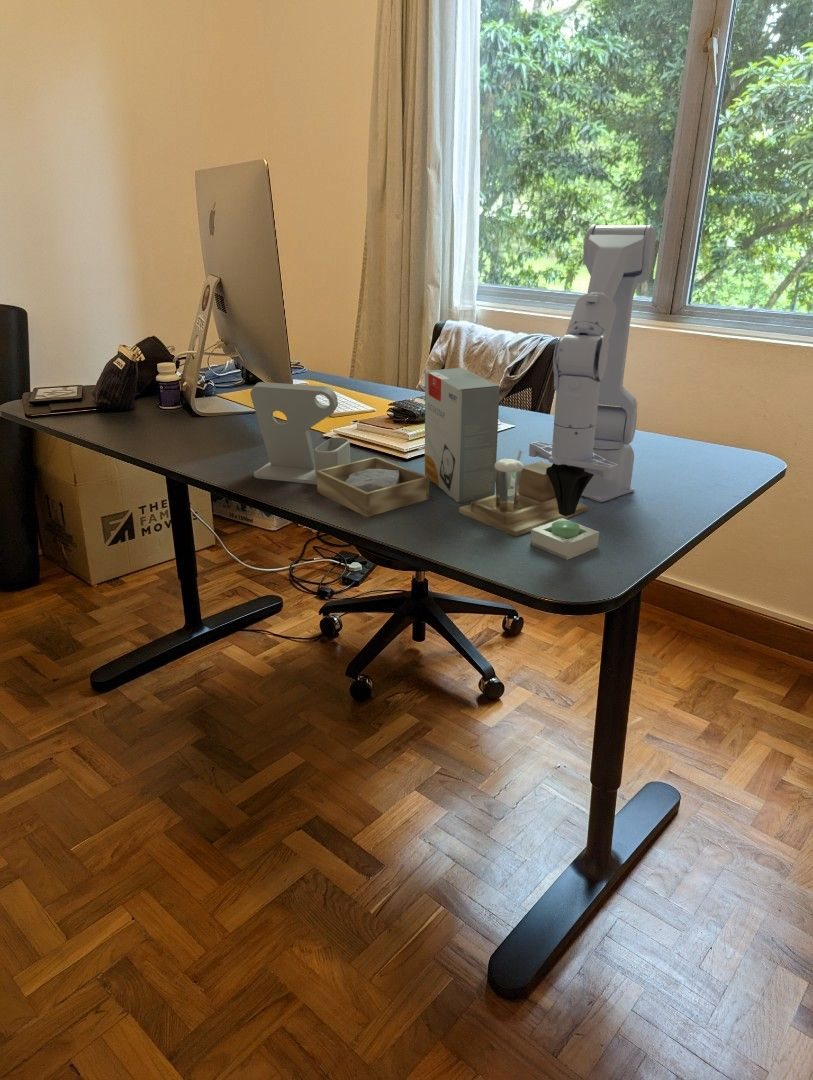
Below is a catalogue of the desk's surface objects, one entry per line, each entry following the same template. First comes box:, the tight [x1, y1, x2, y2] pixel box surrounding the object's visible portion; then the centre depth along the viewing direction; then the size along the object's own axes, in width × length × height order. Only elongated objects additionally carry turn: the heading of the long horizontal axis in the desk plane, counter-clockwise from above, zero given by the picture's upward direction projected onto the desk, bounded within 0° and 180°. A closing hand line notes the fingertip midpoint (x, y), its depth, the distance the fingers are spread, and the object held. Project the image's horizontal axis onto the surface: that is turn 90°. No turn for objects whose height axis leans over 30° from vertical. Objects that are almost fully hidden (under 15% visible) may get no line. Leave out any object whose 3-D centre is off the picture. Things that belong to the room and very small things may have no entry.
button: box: [551, 520, 580, 539], centre depth 110 cm, size 4×4×2 cm
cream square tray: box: [530, 518, 600, 561], centre depth 111 cm, size 7×7×2 cm
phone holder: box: [249, 381, 351, 485], centre depth 139 cm, size 17×10×18 cm, turn 72°
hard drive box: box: [424, 367, 501, 503], centre depth 132 cm, size 16×8×20 cm, turn 21°
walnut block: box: [519, 461, 556, 502], centre depth 125 cm, size 5×5×6 cm
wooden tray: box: [316, 456, 430, 518], centre depth 131 cm, size 13×15×4 cm
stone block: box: [345, 469, 400, 492], centre depth 131 cm, size 12×5×10 cm
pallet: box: [458, 494, 588, 537], centre depth 124 cm, size 17×13×2 cm
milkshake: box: [494, 449, 524, 514], centre depth 119 cm, size 5×5×10 cm
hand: (566, 513), depth 109 cm, fingers closed
